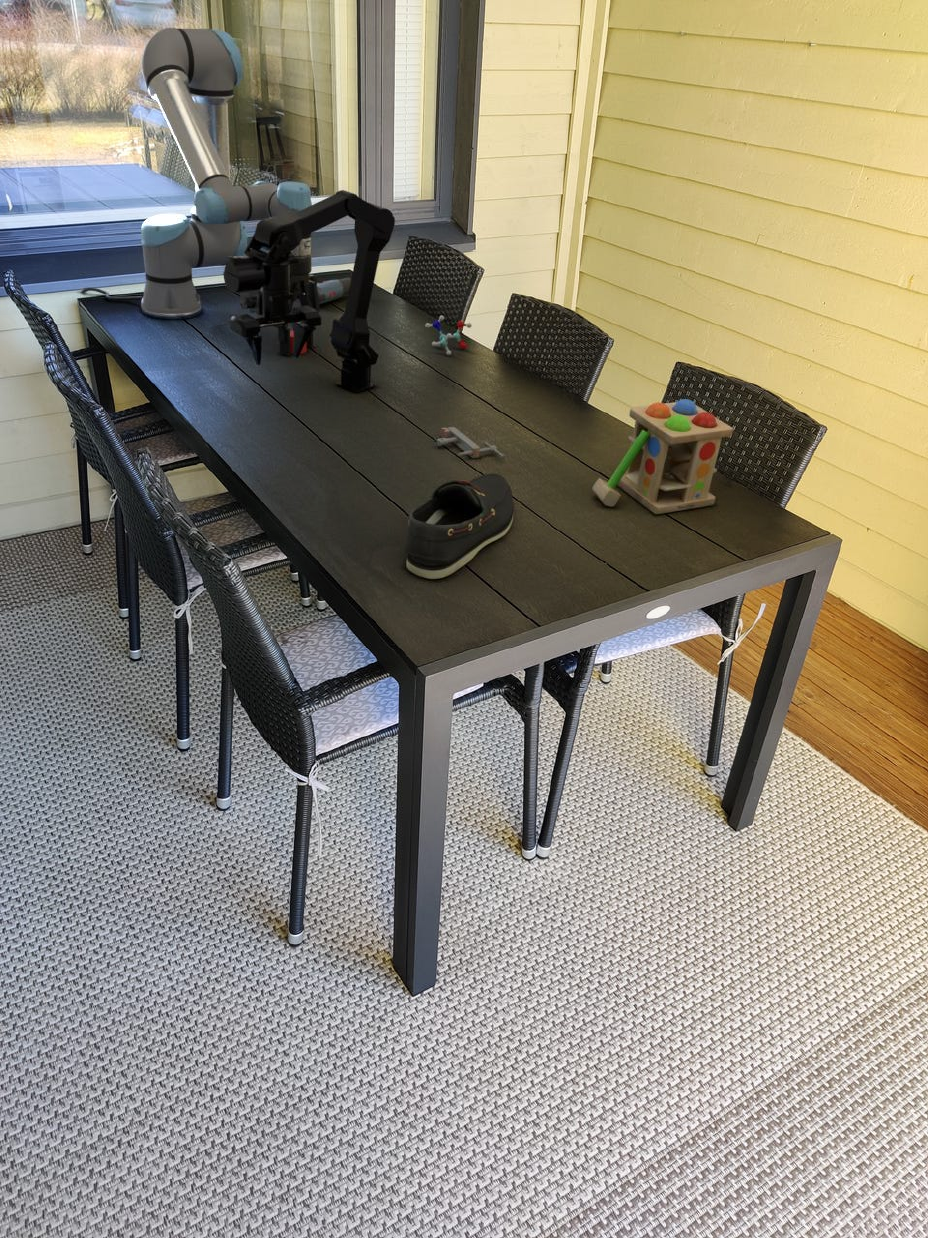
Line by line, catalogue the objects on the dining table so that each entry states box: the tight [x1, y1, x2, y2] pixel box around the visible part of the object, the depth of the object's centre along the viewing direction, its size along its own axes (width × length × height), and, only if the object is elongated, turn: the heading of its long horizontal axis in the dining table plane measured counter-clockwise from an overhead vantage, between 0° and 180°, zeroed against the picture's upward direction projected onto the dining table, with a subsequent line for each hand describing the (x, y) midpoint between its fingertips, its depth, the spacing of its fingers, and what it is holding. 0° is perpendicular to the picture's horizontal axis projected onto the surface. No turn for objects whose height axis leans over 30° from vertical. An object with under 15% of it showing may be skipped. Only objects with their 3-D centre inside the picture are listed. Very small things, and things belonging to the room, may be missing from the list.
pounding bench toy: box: [591, 398, 734, 515], centre depth 186 cm, size 23×14×18 cm, turn 116°
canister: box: [290, 329, 307, 355], centre depth 241 cm, size 5×5×4 cm
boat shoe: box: [403, 472, 515, 580], centre depth 170 cm, size 13×33×10 cm, turn 147°
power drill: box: [317, 277, 352, 305], centre depth 280 cm, size 5×19×20 cm
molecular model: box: [424, 315, 472, 356], centre depth 250 cm, size 12×10×10 cm
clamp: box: [436, 426, 507, 460], centre depth 201 cm, size 15×2×10 cm
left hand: (296, 349), depth 242 cm, fingers open, 8 cm apart
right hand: (277, 360), depth 208 cm, fingers open, 9 cm apart
